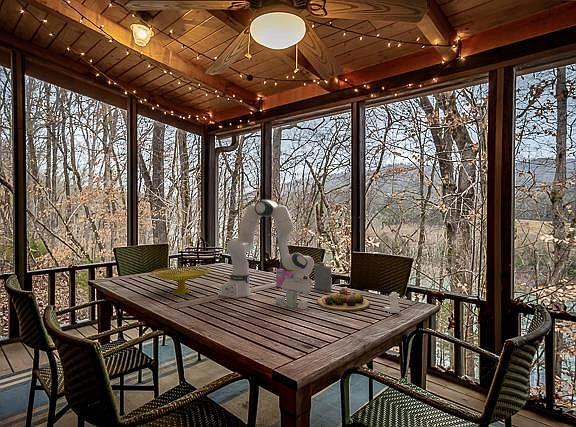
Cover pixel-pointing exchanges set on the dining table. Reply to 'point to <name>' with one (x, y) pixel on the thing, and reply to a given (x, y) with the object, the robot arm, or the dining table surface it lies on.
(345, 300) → the wooden plate with food
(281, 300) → the grey block
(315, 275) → the hip flask
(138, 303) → the dining table surface
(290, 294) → the sage-green pillar
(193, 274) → the cake stand
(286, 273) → the gum box
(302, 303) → the cream block
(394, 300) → the seated beast figurine
